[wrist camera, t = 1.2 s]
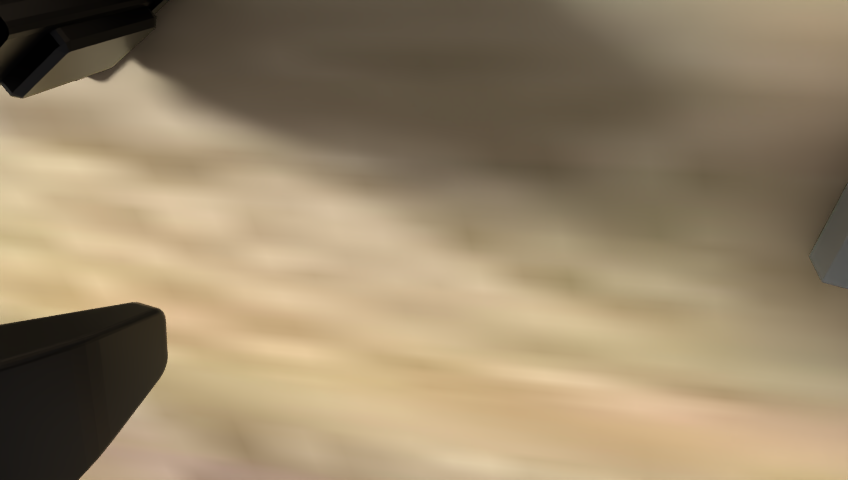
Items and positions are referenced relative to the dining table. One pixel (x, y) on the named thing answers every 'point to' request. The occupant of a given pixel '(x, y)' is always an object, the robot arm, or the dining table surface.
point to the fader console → (833, 246)
